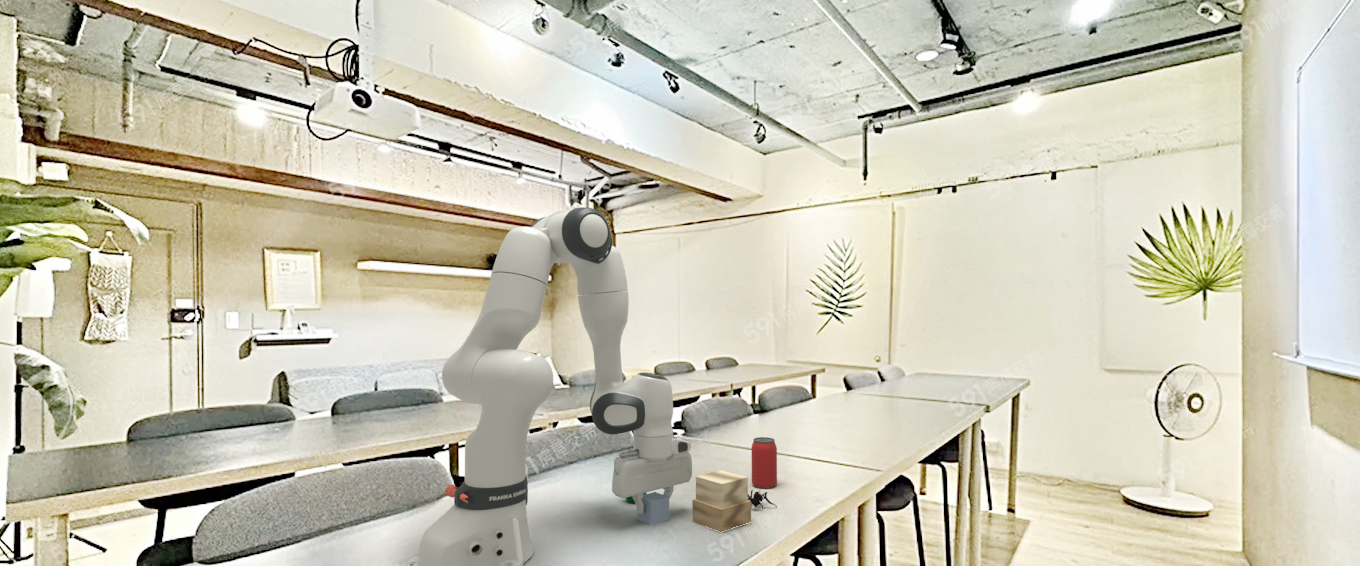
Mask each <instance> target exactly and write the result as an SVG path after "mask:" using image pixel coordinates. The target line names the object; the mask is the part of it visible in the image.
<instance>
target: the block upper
mask: <svg viewBox="0 0 1360 566" xmlns="http://www.w3.org/2000/svg"><path fill="white" fill-rule="evenodd" d="M748 479H749V477H748V476H745V475H741V474H738V473H733V472H730V471H726V470H722V469H720V470H717V471H716V470H715V471H713V472H712V471H711V472H709V473H705V474H700V475H697V476H695V499H696V500H699V501H702V502H705V503H708V504H711V505H714V506H717V507H720V508H725V507H728V506H732V505H735V504H738V503H741V502H744V501H747V500H748V495H749V488H748V487H749V483H748V482H749V480H748Z"/></svg>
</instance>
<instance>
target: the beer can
mask: <svg viewBox="0 0 1360 566" xmlns="http://www.w3.org/2000/svg"><path fill="white" fill-rule="evenodd" d="M777 449H778V448H777V444H776V442H775V438H772V437H767V436H766V437H765V436H764V437H762V436H761V437H760V436H759V437H755V438H753V442H752V445H751V484H752V486H754V487H755V488H758V489H760V487H761V489H771V488H775V487H776V486H777V484H778V454H777V453H778V451H777Z"/></svg>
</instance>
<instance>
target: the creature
mask: <svg viewBox="0 0 1360 566" xmlns="http://www.w3.org/2000/svg"><path fill="white" fill-rule="evenodd" d="M761 489H762V488H761V487H760V488H759V490H758V491H755V492H754V491H753V489H751V491H750V494H748V500H750V501H751V507H752V506H753V507H754V508H755V509H756V508H758V506H761V508H762V510H763V509H764V510H765V509H767V507H764V505H763V504H762V503H761V502H763V500H766V502H767V503H768V504H770V505H773V506H774V507H775V508H777V505H776V504H775V503H772V502H771V501H770V500H769V499H768V497H767V496H768V495H767V494H768V492H767V491H765V492H764V493H762V494H761V493H760V492H761ZM753 492H754V494H753Z"/></svg>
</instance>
